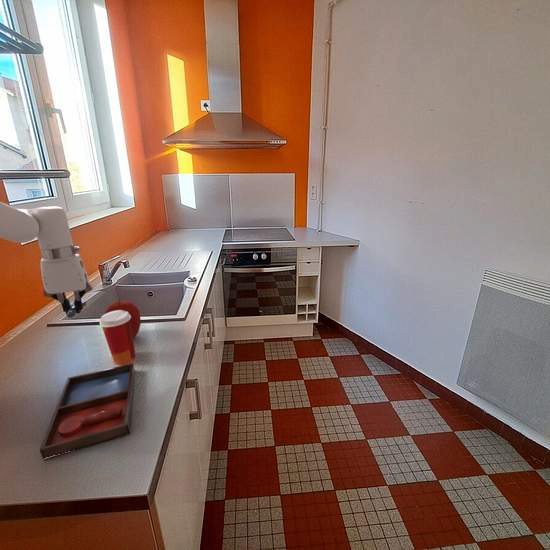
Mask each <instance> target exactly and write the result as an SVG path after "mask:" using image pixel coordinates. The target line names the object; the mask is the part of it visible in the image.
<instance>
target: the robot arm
mask: <svg viewBox="0 0 550 550" xmlns="http://www.w3.org/2000/svg"><path fill="white" fill-rule="evenodd" d="M66 213H67V212H66V210H65V209H64V208H63V207H61V206H40V207H35V208H16V207H14V206H11V205H9V204H6V203H4V202H2V201H0V239H3V240H6V241H8V242H12V243H16V244H24V243H28V242H31V241H33V240H34V239H37V242H38V245H39V249H40V252H41V256H42V257H41V259H40V273H41V280H42V285H43V293H42V296H43V297H45V298H52V299H54V300H55V301H57V302H58V303H59V304H60V305H61V308H62V310H63V311H62V312H63V313H65V315H66V316H67V312H68V311H69V309H70V307H71V306H70V302H71V301H70V299H69V298H67V295H66V293H70V292H73V296H74V300H73V301H74V305H75V309H76V314H81V312H82V310H83V309H84V307H83V305H82V300H81V299H82V298H83V297H84V295H85V294H87V293H89V292H91V291H93V289H94V287H93V285H92V284H91V283H90V282H89V276H88V273H87V269H86V267H85V264H84V262H83V259H82V258H81V255H80V254H79V253H78V252H81V246H76V245H75V244H74V242H73V238H72V234H71V230H70V225H69V221H68V217H67V214H66Z"/></svg>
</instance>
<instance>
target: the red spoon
mask: <svg viewBox="0 0 550 550" xmlns="http://www.w3.org/2000/svg"><path fill="white" fill-rule="evenodd" d="M122 413H123V410H122V408H120V407H116V408H113V409H109V410H105V411H101V412H98V413H94V414H90V415H86V416H84V417H81V416H73V417H70V418H68V419H66V420H65V421H63V422H62V423H61V424H60V426H59V428H58V431H59V434H60V436H62V437H70V436H73V435H75V434H77V433H78V432H79V431H81V430H82V428H83V427H84V426H87V425H91V424H95V423H98V422H102V421H106V420H109V419H113V418H116V417H119V416H121V415H122Z"/></svg>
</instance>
